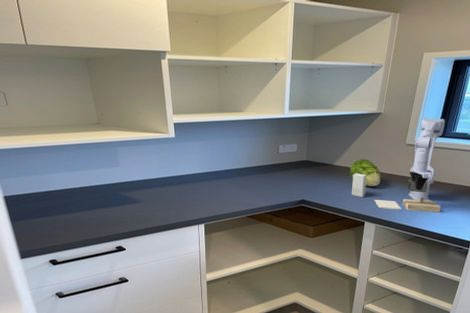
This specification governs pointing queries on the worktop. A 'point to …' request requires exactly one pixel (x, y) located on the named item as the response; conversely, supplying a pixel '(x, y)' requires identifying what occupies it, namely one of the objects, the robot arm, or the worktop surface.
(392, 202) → the tile
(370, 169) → the lettuce
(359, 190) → the skincare box
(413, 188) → the grey notched block
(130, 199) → the worktop surface
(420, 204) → the body
